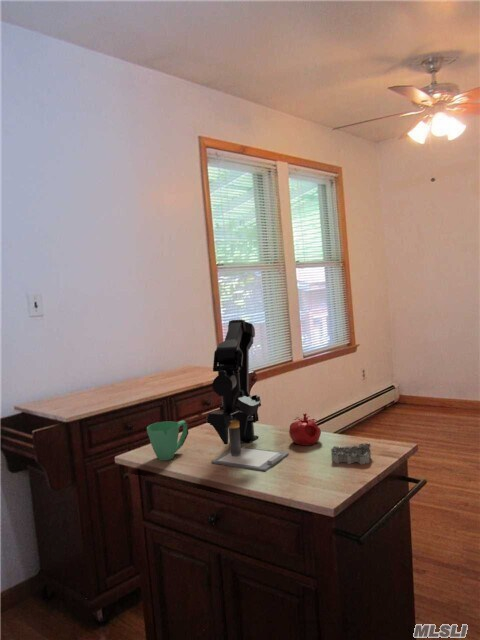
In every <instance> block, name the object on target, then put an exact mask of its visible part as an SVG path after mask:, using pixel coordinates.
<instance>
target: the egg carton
mask: <svg viewBox="0 0 480 640" xmlns="http://www.w3.org/2000/svg"><path fill="white" fill-rule="evenodd" d="M371 446H372V445H371V443H359V444H358V445H353V446H340V447H339V446H338V445H337V446H333V447H332V448H331V449H330V452H331V461H332V462H334V461H335V462H334V463H335V464H339V462H340V463H342V462H343V463H346V464H347V465H349V464H350V465H352V464H354V462H358V464H359V465H362V464H364V465H366V464H369V463H370V458H372V457H371V454H372V451H371ZM351 463H352V464H351ZM365 463H366V464H365Z"/></svg>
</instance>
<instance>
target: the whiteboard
mask: <svg viewBox="0 0 480 640" xmlns="http://www.w3.org/2000/svg"><path fill="white" fill-rule="evenodd" d="M289 454H290V453H289V452H285V451H284V452H283V451H276V450H269V449H260V448H253V447H247V446H241V455H240V456H232V455H231V452H230V450H229V451H227V452H225V453H223V454H221V455H220V456H218V457H216V458H215V459H212V460H211V464H215V465H221V466H222V465H223V466H230V467H235V468H241V469H249V470H255V471H260V472H266V471H268V470H269V469H271V468H272V467H273V466H275V465H277V463H279V462H280V461H282V460H283V459H284V458H286V457H287V456H289Z"/></svg>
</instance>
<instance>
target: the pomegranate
mask: <svg viewBox="0 0 480 640" xmlns="http://www.w3.org/2000/svg"><path fill="white" fill-rule="evenodd" d="M302 415H303V418H302V417H300V416H296V417H295V418H294V419H293V420H292V423H290V425H289V429H288V430H289V432H288V433H289V438H291V441H292V442H293V443H295V444H297V445H300V446H312V445H314V444H316V443H318V441H319V440H320V437H321V433H322V431H321V428H320V427H319V426H318V424H317V423H316V422H317V421H318V420H316V419H315V418H312V419H311V418H310V415H308V413H307V412H302ZM308 418H310V419H308ZM293 421H294V422H293Z"/></svg>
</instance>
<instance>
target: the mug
mask: <svg viewBox="0 0 480 640" xmlns="http://www.w3.org/2000/svg"><path fill="white" fill-rule="evenodd" d="M180 427H182V432H181V435H180V437H179V432H180ZM146 433H147V435H148V438H149V441H150V444H151V447H152V450H153V452H154V454H155V456H156V457H157V460H158V459H159V460H158V461H169V460H172V459H173V458H174V457H175V454H176V452H177V451H178V450H180V449H181V448H182V446H183V445H184V443H185V442H186V439H187V437H188V435H189V424H188V423H187V422H186V420H180V421H172V420H171V421H167V420H166V421H160V422H154V423H152V424H149V425H148V426H147V427H146Z"/></svg>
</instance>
